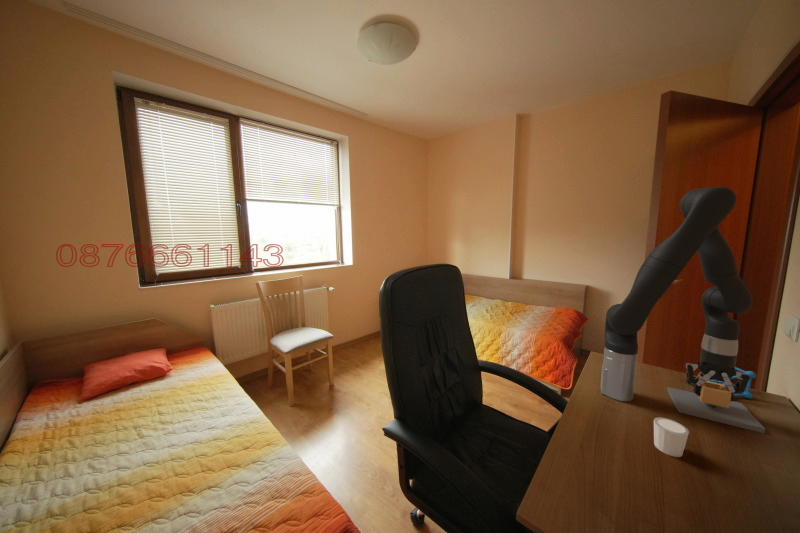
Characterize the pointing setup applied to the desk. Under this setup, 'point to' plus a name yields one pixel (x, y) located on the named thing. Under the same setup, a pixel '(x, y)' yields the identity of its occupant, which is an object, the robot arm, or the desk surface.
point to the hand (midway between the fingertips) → (711, 397)
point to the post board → (715, 411)
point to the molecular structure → (751, 375)
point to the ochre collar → (715, 394)
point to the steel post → (711, 405)
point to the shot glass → (670, 436)
